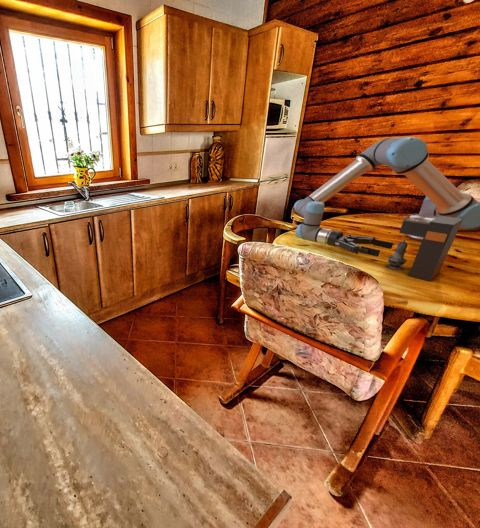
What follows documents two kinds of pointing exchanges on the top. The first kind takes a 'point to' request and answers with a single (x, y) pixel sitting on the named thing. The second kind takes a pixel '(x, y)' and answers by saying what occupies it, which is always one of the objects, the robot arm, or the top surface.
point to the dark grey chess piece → (398, 256)
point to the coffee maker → (430, 242)
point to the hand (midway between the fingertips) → (385, 249)
